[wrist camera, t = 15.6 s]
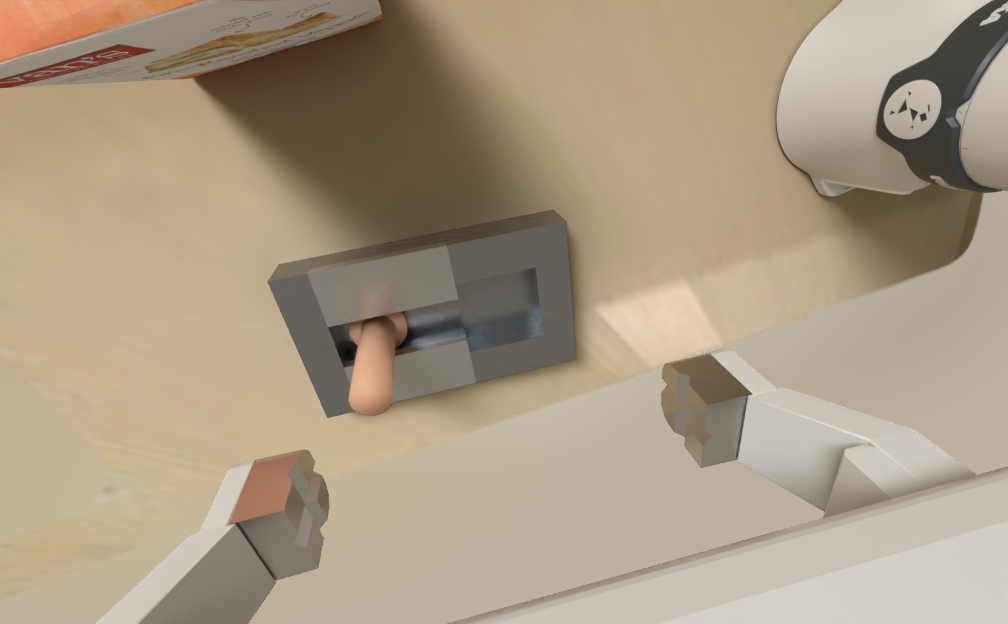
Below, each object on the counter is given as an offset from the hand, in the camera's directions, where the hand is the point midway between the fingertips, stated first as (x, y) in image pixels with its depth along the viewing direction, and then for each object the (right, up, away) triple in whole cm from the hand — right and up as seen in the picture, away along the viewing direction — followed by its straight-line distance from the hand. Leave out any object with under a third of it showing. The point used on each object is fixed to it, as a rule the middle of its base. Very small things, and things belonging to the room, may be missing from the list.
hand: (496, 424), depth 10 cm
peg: (-11, +1, +31) cm, 33 cm away
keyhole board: (-6, +3, +32) cm, 33 cm away
